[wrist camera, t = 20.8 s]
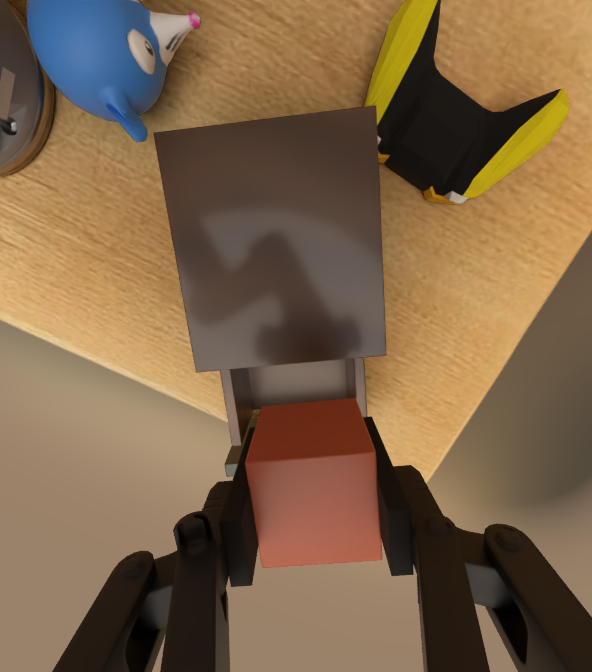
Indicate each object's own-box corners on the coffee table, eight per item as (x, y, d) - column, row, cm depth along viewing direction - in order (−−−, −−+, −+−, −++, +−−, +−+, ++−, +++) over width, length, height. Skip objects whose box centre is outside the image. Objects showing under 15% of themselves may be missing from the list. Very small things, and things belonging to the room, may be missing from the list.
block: (273, 487, 19) (261, 569, 14) (261, 405, 17) (244, 462, 13) (362, 480, 18) (383, 561, 13) (355, 397, 17) (376, 451, 12)
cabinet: (362, 327, 33) (386, 355, 23) (226, 340, 34) (195, 372, 24) (352, 155, 29) (376, 104, 20) (201, 172, 30) (153, 132, 20)
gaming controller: (398, 19, 27) (330, 134, 29) (422, -40, 22) (336, 105, 24) (538, 128, 29) (464, 230, 31) (593, 98, 23) (498, 224, 25)
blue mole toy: (235, 131, 29) (209, 81, 21) (111, 167, 30) (38, 132, 22) (194, -30, 27) (144, -159, 18) (59, 15, 27) (-45, -89, 19)
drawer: (365, 461, 35) (383, 517, 28) (249, 469, 36) (234, 527, 28) (354, 277, 31) (372, 283, 23) (222, 290, 31) (196, 300, 24)
